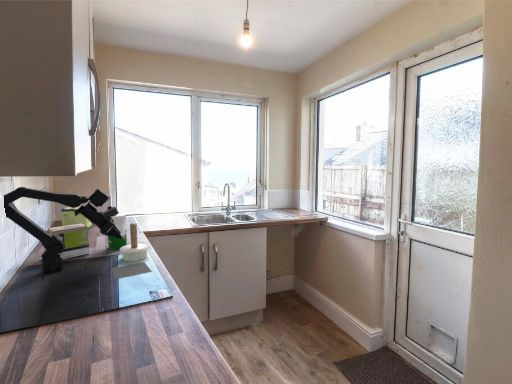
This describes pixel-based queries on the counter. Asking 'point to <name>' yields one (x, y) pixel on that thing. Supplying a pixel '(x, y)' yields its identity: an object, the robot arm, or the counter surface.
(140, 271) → the mat
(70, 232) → the tea box
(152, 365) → the counter surface
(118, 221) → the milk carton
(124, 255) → the bowl
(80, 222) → the protein box
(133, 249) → the peg on round base
